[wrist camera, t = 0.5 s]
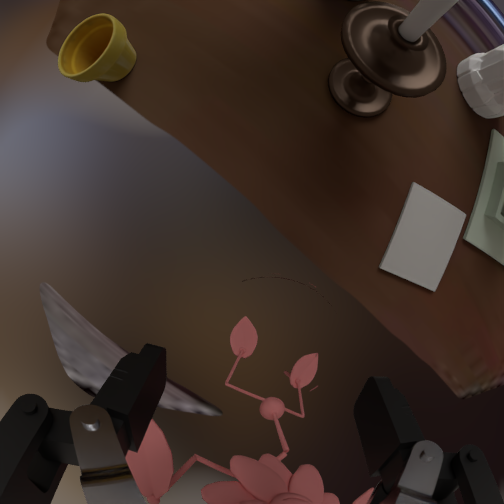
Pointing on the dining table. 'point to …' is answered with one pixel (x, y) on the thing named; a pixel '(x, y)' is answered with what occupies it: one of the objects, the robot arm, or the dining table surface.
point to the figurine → (243, 468)
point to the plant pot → (97, 51)
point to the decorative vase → (483, 82)
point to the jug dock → (490, 204)
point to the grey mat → (423, 238)
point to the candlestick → (388, 55)
